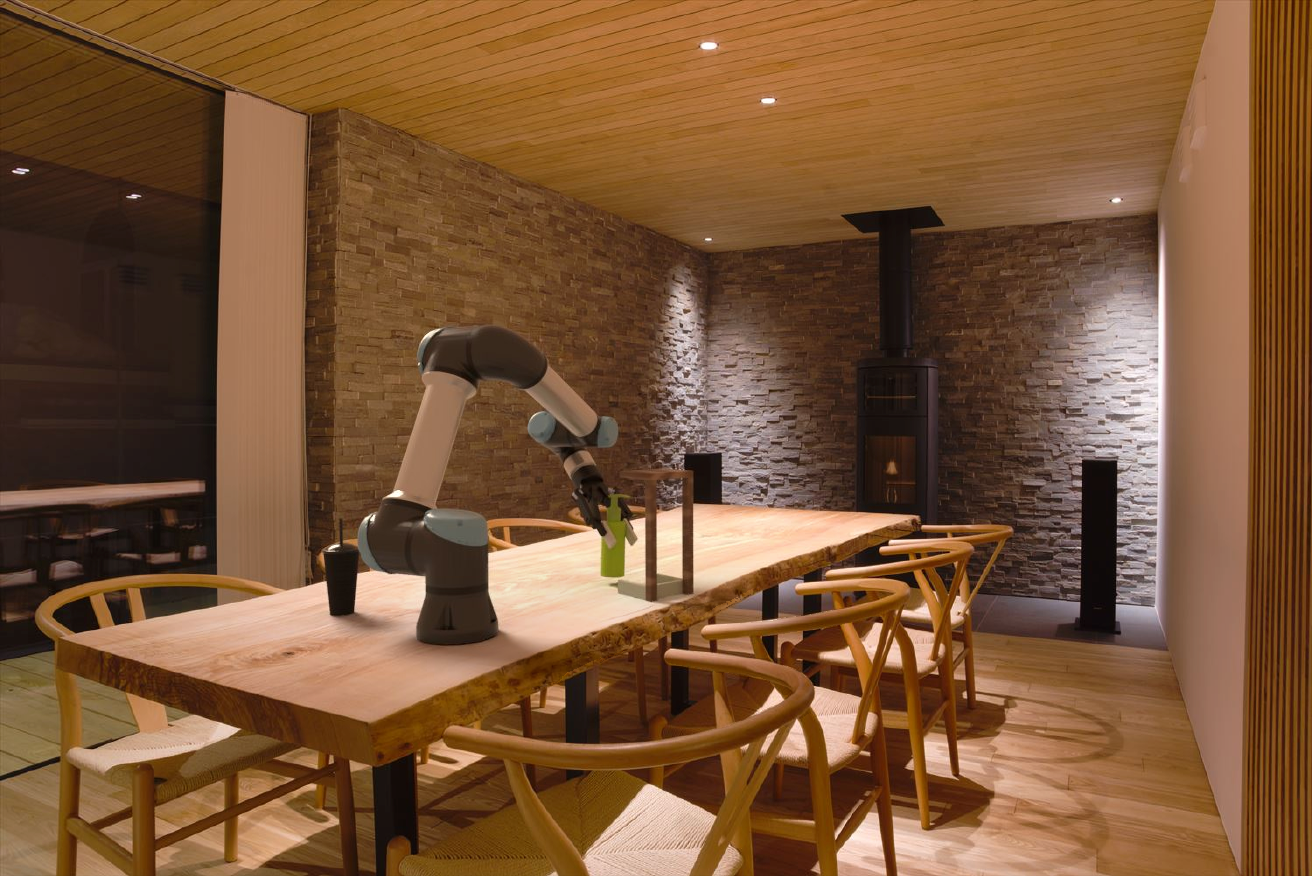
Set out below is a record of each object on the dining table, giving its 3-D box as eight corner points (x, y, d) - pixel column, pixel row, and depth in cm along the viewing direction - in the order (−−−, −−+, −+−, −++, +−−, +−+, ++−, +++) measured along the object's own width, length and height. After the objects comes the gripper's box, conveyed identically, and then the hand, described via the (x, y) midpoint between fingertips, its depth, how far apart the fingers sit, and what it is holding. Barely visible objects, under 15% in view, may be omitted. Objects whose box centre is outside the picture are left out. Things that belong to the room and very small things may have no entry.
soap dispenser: (628, 578, 205) (629, 495, 204) (599, 577, 205) (601, 494, 205) (629, 573, 210) (631, 493, 210) (601, 573, 211) (603, 493, 210)
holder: (646, 600, 189) (646, 586, 189) (617, 593, 197) (617, 580, 197) (687, 592, 197) (687, 579, 197) (658, 585, 205) (658, 573, 205)
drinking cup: (348, 618, 173) (347, 521, 172) (315, 616, 175) (313, 520, 174) (368, 609, 181) (367, 516, 180) (336, 608, 182) (334, 515, 182)
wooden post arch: (650, 601, 187) (650, 473, 187) (620, 594, 195) (620, 471, 195) (693, 593, 196) (693, 470, 195) (662, 586, 204) (662, 468, 203)
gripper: (606, 480, 225) (646, 549, 213) (547, 484, 212) (585, 557, 201) (619, 461, 221) (660, 530, 209) (559, 464, 208) (599, 537, 196)
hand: (623, 543), depth 205 cm, fingers closed on soap dispenser, 6 cm apart
